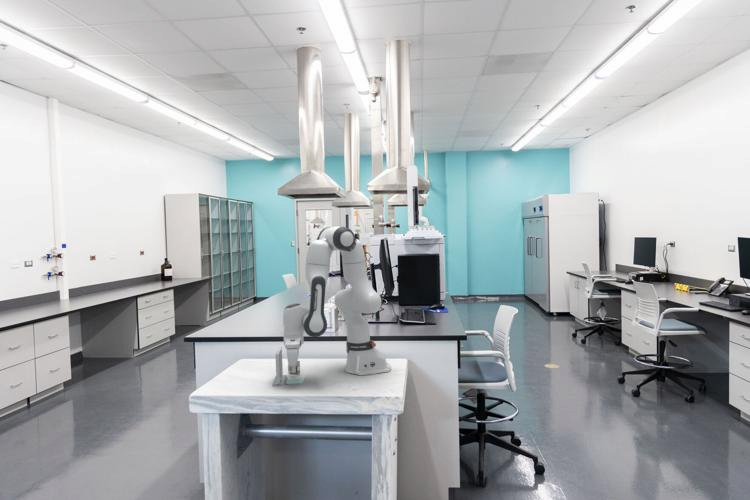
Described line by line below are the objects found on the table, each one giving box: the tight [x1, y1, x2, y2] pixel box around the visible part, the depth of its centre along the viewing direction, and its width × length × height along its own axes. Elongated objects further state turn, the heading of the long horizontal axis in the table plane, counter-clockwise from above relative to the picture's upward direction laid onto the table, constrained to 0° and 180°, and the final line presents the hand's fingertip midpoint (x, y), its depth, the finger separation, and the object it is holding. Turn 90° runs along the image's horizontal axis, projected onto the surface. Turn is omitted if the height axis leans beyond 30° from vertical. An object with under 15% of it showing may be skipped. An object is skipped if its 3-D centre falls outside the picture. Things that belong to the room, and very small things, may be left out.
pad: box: [286, 376, 304, 385], centre depth 206 cm, size 7×7×1 cm
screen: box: [272, 346, 288, 387], centre depth 206 cm, size 5×12×14 cm, turn 6°
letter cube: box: [287, 360, 301, 377], centre depth 205 cm, size 5×5×5 cm
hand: (294, 370), depth 205 cm, fingers closed on letter cube, 5 cm apart
